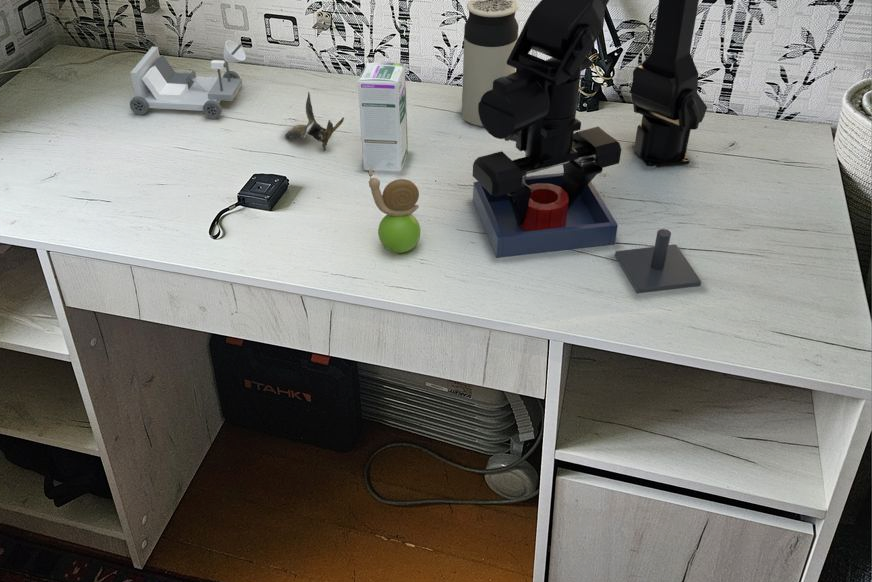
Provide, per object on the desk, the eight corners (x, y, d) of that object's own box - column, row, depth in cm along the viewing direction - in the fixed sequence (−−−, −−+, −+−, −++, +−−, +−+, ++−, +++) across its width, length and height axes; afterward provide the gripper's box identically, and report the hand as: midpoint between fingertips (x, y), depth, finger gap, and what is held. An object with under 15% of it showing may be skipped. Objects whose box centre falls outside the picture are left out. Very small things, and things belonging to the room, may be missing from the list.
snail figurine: (369, 239, 124) (366, 159, 116) (417, 235, 125) (417, 155, 117) (373, 263, 120) (369, 182, 112) (423, 259, 121) (423, 178, 113)
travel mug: (514, 127, 146) (523, 14, 134) (463, 129, 146) (467, 15, 134) (509, 103, 152) (516, -8, 140) (460, 105, 152) (463, -6, 140)
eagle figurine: (354, 131, 144) (317, 102, 148) (337, 107, 138) (299, 77, 142) (320, 168, 144) (284, 138, 148) (301, 145, 138) (264, 115, 142)
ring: (557, 205, 128) (560, 180, 126) (572, 232, 123) (575, 207, 121) (511, 211, 128) (512, 185, 125) (523, 238, 123) (526, 212, 120)
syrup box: (401, 174, 137) (400, 80, 127) (361, 171, 138) (357, 78, 128) (408, 154, 141) (407, 62, 131) (369, 151, 142) (365, 60, 132)
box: (581, 191, 131) (584, 170, 129) (614, 246, 121) (618, 224, 119) (472, 203, 130) (473, 182, 128) (496, 260, 120) (497, 238, 118)
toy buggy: (249, 32, 153) (229, 62, 144) (256, 88, 159) (237, 120, 151) (145, 27, 156) (118, 57, 147) (155, 83, 162) (131, 114, 153)
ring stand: (674, 250, 120) (683, 210, 116) (700, 288, 114) (709, 247, 110) (614, 257, 119) (620, 217, 116) (636, 295, 113) (644, 255, 110)
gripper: (581, 68, 123) (569, 171, 133) (454, 98, 118) (451, 203, 128) (631, 103, 115) (614, 210, 125) (497, 137, 110) (491, 246, 120)
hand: (541, 216), depth 125 cm, fingers closed on ring, 6 cm apart
